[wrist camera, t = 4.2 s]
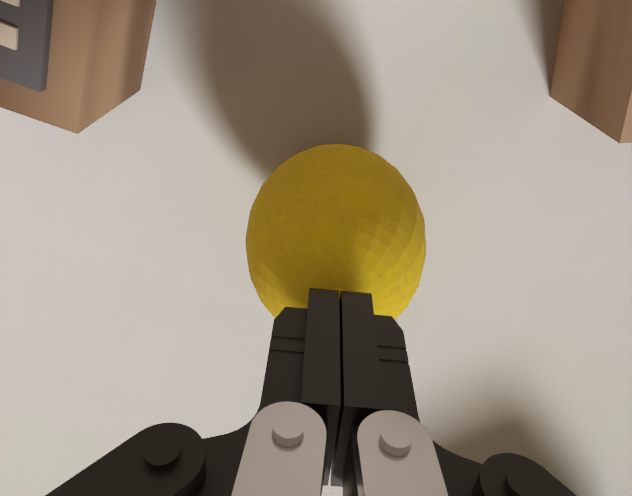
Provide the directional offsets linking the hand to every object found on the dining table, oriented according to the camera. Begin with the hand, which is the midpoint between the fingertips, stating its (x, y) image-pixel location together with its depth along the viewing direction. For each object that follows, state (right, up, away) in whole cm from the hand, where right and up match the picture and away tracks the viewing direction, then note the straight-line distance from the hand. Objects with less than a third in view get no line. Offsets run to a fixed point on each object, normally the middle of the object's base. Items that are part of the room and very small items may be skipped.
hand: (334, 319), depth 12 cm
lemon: (0, +4, +7) cm, 8 cm away
